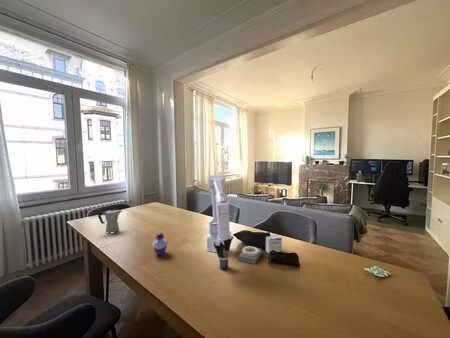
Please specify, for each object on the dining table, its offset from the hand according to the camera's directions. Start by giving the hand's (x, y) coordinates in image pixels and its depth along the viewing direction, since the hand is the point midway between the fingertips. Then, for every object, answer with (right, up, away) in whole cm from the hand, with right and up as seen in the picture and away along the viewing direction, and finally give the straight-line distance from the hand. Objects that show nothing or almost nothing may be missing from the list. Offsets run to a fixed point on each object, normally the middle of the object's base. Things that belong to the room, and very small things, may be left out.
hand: (223, 254), depth 103 cm
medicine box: (+28, -6, +17) cm, 34 cm away
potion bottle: (-36, -7, +16) cm, 40 cm away
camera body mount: (+14, -6, +12) cm, 19 cm away
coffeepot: (-83, -5, +51) cm, 98 cm away
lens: (0, -7, +1) cm, 7 cm away
